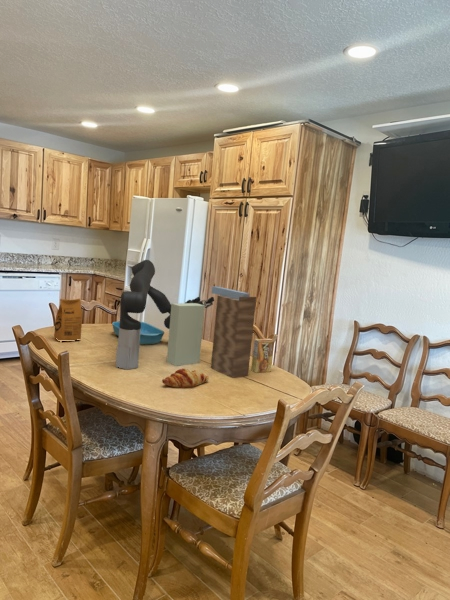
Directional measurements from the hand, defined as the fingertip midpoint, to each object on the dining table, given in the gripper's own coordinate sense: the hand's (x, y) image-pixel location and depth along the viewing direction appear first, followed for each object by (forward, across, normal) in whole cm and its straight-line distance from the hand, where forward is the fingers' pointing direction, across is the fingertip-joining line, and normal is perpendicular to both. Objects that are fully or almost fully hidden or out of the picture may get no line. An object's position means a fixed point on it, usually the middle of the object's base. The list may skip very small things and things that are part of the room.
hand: (206, 298), depth 208 cm
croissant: (+10, -28, +41) cm, 51 cm away
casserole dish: (-57, -10, +2) cm, 58 cm away
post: (+4, 0, +37) cm, 38 cm away
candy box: (+8, +16, +40) cm, 44 cm away
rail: (+17, 0, +6) cm, 17 cm away
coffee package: (-62, -48, -1) cm, 78 cm away
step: (-14, -12, +27) cm, 33 cm away
